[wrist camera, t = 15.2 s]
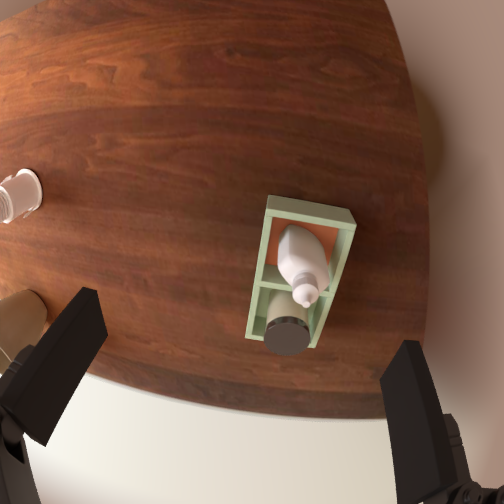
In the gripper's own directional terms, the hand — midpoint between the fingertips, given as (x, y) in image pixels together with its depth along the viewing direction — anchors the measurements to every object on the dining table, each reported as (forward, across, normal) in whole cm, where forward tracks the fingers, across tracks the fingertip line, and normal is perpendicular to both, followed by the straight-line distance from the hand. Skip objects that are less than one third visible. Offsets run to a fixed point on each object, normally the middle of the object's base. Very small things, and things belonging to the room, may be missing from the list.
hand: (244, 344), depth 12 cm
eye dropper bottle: (+24, +4, -7) cm, 26 cm away
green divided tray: (+25, +4, -12) cm, 28 cm away
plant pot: (+24, -45, -30) cm, 59 cm away
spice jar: (+24, +4, -16) cm, 29 cm away
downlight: (+25, -38, -5) cm, 45 cm away
